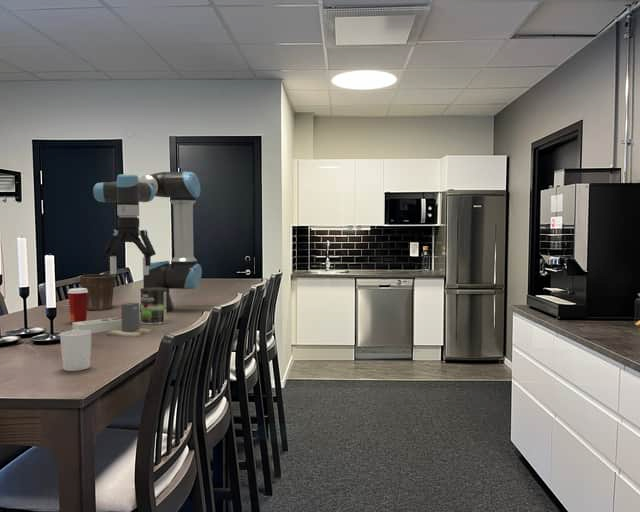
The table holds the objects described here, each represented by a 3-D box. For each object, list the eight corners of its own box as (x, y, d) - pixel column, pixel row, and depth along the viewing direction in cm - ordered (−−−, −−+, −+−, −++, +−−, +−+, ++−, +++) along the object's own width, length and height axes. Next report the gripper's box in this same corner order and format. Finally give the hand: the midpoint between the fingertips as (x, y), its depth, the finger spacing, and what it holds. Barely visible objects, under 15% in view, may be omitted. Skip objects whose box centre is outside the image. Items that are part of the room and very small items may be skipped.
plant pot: (122, 308, 247) (122, 275, 246) (88, 312, 235) (87, 277, 234) (107, 305, 258) (107, 273, 257) (74, 308, 246) (73, 275, 245)
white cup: (67, 364, 146) (67, 329, 146) (96, 364, 147) (95, 329, 146) (55, 372, 138) (55, 335, 138) (86, 371, 139) (85, 335, 139)
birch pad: (125, 328, 198) (125, 326, 198) (153, 330, 195) (153, 328, 195) (105, 335, 186) (105, 332, 186) (135, 336, 183) (135, 334, 183)
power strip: (120, 327, 204) (120, 315, 203) (127, 329, 198) (127, 317, 198) (72, 333, 191) (72, 321, 191) (78, 336, 186) (78, 323, 186)
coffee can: (155, 325, 205) (155, 290, 204) (135, 323, 209) (134, 289, 208) (172, 321, 214) (171, 287, 214) (152, 319, 218) (152, 286, 218)
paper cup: (92, 321, 213) (91, 288, 212) (82, 324, 206) (81, 290, 205) (74, 321, 214) (74, 287, 213) (63, 324, 206) (63, 289, 206)
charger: (129, 328, 194) (129, 302, 193) (139, 329, 193) (138, 303, 192) (121, 331, 189) (121, 304, 188) (131, 332, 188) (131, 305, 187)
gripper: (92, 216, 188) (93, 274, 189) (153, 216, 182) (154, 276, 183) (105, 217, 195) (106, 272, 196) (164, 217, 189) (165, 274, 190)
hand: (129, 274), depth 190 cm, fingers open, 13 cm apart
